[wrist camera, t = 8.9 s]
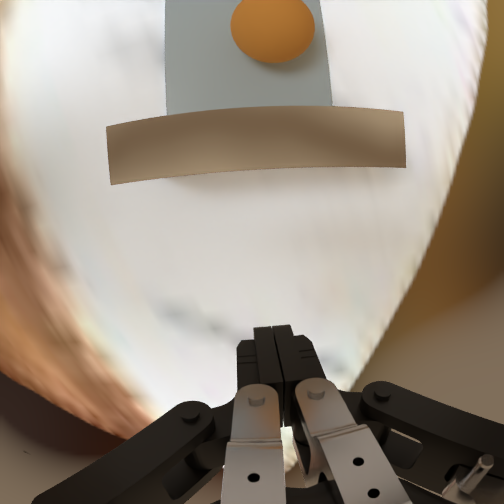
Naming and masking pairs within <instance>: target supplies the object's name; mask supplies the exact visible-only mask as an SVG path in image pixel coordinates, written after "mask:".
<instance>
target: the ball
mask: <svg viewBox="0 0 504 504" xmlns="http://www.w3.org/2000/svg"><path fill="white" fill-rule="evenodd" d="M230 28H231V34H232V37H233V40H234V41H235V43H236V45H237V46H238V47H239V49H240V50H241V51H242V52H244V53H245V54H246V55H248V56H249V57H251V58H253V59H255V60H258V61H261V62H266V63H281V62H286V61H289V60H292V59H294V58H296V57H298V56H299V55H301V54H302V53H303V52H304V51H305V50H306V49H307V48H308V47H309V45H310V44H311V42H312V40H313V37H314V32H315V23H314V18H313V15H312V13H311V11H310V10H309V8H308V7H307V5H306V4H305V3H304V2H303V1H302V0H242V1H241V2H240V3H239V4H238V5H237V7H236V8H235V10H234V12H233V14H232V17H231V23H230Z"/></svg>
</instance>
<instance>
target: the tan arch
mask: <svg viewBox="0 0 504 504" xmlns="http://www.w3.org/2000/svg"><path fill="white" fill-rule="evenodd" d="M106 132H107V149H108V161H109V172H110V182H111V185H115V184H122V183H129V182H136V181H143V180H151V179H159V178H167V177H175V176H185V175H194V174H205V173H216V172H228V171H241V170H257V169H275V168H301V167H395V168H406V150H405V129H404V115H403V112H400V111H391V110H382V109H370V108H356V107H338V106H261V107H242V108H228V109H217V110H206V111H197V112H189V113H181V114H174V115H167V116H160V117H154V118H148V119H142V120H137V121H131V122H126V123H121V124H116V125H112V126H107V127H106Z"/></svg>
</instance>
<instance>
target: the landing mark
mask: <svg viewBox="0 0 504 504" xmlns="http://www.w3.org/2000/svg"><path fill="white" fill-rule="evenodd" d="M241 1H242V0H165V82H166V107H167V115H174V114H181V113H189V112H197V111H206V110H217V109H228V108H242V107H261V106H332V97H331V86H330V76H329V67H328V58H327V50H326V42H325V35H324V28H323V21H322V15H321V8H320V2H319V0H302V1H303V2H304V3H305V4H306V5H307V7H308V8H309V10H310V11H311V13H312V15H313V18H314V23H315V32H314V37H313V40H312V42H311V44H310V45H309V47H308V48H307V49H306V50H305V51H304V52H303V53H302V54H301V55H299V56H298V57H296V58H294V59H292V60H289V61H286V62H281V63H266V62H261V61H258V60H255V59H253V58H251V57H249V56H248V55H246V54H245V53H244V52H242V51H241V50H240V49H239V47H238V46H237V45H236V43H235V41H234V40H233V37H232V34H231V28H230V23H231V17H232V14H233V12H234V10H235V8H236V7H237V5H238V4H239V3H240V2H241Z"/></svg>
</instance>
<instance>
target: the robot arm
mask: <svg viewBox="0 0 504 504" xmlns="http://www.w3.org/2000/svg"><path fill="white" fill-rule="evenodd" d="M253 330H254V340H241V342H240V343H239V345H238V346H237V388H238V389H237V393H236V395H235V397H234V398H233V399H232V400H231V401H230V402H228V403H227V404H225V405H222V406H219V407H215V408H212V409H211V408H210V407H209V406H208V405H207V404H205V403H203V402H199V401H187V402H183V403H180V404H178V405H176V406H175V407H174V408H172V409H171V410H169V411H168V412H167V413H165V414H164V415H163V416H161V417H160V418H158V419H157V420H156V421H154V422H153V423H151V424H150V425H149V426H147V427H146V428H144V429H143V430H142V431H140V432H139V433H137V434H136V435H134V436H133V437H131V438H130V439H128V440H127V441H126V442H124V443H123V444H121V445H120V446H118V447H117V448H115V449H114V450H112V451H111V452H109V453H107V454H106V455H104V456H103V457H101V458H100V459H98V460H97V461H95V462H93V463H92V464H90V465H89V466H87V467H85V468H84V469H82V470H81V471H79V472H77V473H76V474H74V475H72V476H71V477H69V478H67V479H66V480H64V481H62V482H61V483H59V484H57V485H55V486H54V487H52V488H50V489H48V490H47V491H45V492H43V493H41V494H39V495H38V496H37V497H35V498H34V500H33V501H32V503H31V504H184V503H185V502H186V501H187V500H189V499H190V498H191V497H192V496H193V495H194V494H195V493H196V492H197V491H199V490H200V489H201V488H202V487H203V486H204V485H205V484H206V483H208V482H209V481H210V480H211V479H212V478H213V477H214V476H215V475H216V474H217V473H218V472H219V471H220V470H221V469H222V467H223V465H225V466H224V475H223V486H222V495H221V500H218V501H216V502H214V503H211V504H504V425H503V424H500V423H497V422H494V421H491V420H488V419H485V418H482V417H479V416H476V415H473V414H471V413H468V412H465V411H462V410H459V409H457V408H454V407H451V406H448V405H446V404H443V403H440V402H438V401H435V400H432V399H430V398H427V397H425V396H422V395H420V394H417V393H415V392H412V391H410V390H407V389H405V388H402V387H400V386H397V385H395V384H392V383H390V382H386V381H376V382H372V383H370V384H368V385H367V386H365V387H364V389H363V391H362V393H361V392H345V391H341V390H338V389H337V388H336V386H335V385H334V384H333V383H332V382H331V381H329V380H327V379H326V376H325V374H324V371H323V369H322V366H321V364H320V361H319V359H318V357H317V354H316V352H315V350H314V347H313V344H312V342H311V341H310V340H309V339H308V338H307V337H305V336H304V335H298V336H294V335H293V332H292V329H291V326H290V325H279V326H272V328H271V326H268V327H255V328H253ZM283 422H284V427H287V426H292V431H293V441H292V442H293V446H294V449H295V452H296V455H297V458H298V462H299V465H300V468H301V471H302V474H303V477H304V481H305V488H289V487H285V476H284V460H283V445H282V440H281V430H280V427H283ZM391 428H392V429H395V430H397V431H399V432H401V433H403V434H406V435H408V436H410V437H413V438H415V439H417V440H419V441H420V442H421V443H422V444H421V443H418V442H415V441H413V440H411V439H408V438H406V437H404V436H401V435H400V434H397V433H395V432H393V431H391ZM396 475H397V476H399V477H401V478H404V479H406V480H408V481H410V482H413V483H415V484H417V485H419V486H422V487H424V488H426V489H429V490H431V491H434V492H436V493H439V494H441V495H442V497H443V498H442V497H440V496H438V495H435V494H433V493H431V492H429V491H427V490H424V489H422V488H420V487H418V486H416V485H414V484H412V483H410V482H408V481H405V480H403V479H400V478H398V477H397V476H396Z"/></svg>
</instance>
